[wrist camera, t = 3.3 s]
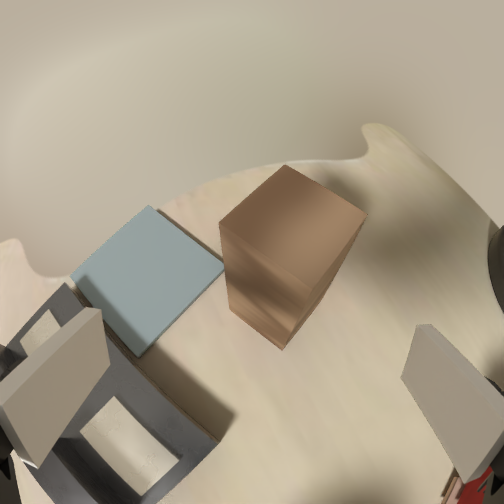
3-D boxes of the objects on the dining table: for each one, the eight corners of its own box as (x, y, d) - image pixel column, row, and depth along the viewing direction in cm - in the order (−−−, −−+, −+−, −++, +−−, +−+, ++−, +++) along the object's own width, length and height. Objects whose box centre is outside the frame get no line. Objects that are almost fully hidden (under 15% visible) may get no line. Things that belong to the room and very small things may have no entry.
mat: (226, 268, 25) (226, 265, 24) (138, 358, 21) (137, 357, 20) (149, 207, 28) (148, 204, 28) (71, 278, 24) (69, 276, 23)
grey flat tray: (220, 441, 18) (212, 449, 13) (119, 533, 13) (91, 554, 9) (75, 292, 23) (46, 264, 19) (-2, 377, 18) (-38, 363, 14)
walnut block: (320, 301, 23) (367, 214, 14) (282, 350, 21) (312, 289, 12) (270, 265, 25) (284, 164, 16) (229, 309, 23) (218, 222, 14)
